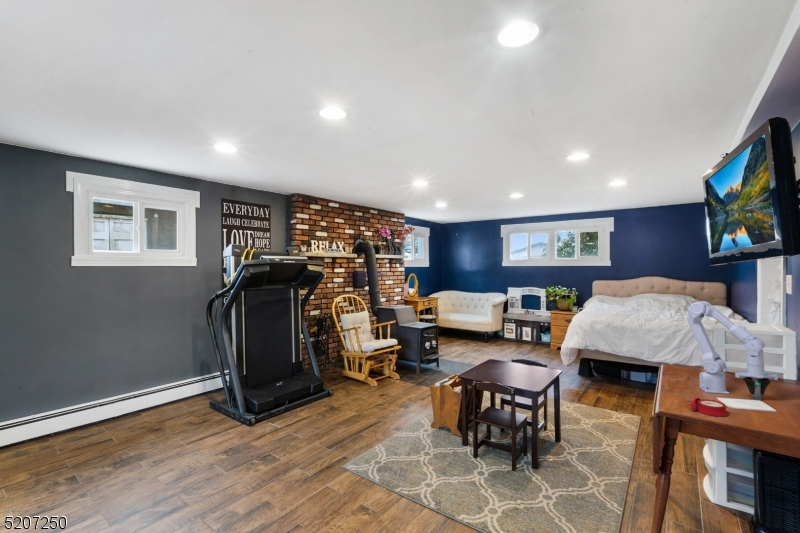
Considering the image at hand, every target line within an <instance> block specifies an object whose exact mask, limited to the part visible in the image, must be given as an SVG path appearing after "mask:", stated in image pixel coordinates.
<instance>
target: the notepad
mask: <svg viewBox="0 0 800 533" xmlns="http://www.w3.org/2000/svg"><path fill="white" fill-rule="evenodd" d="M716 399H717V401H719V402H722V403H724V404H725V405H726V406H729V407H727V408H728V409H737V410H750V411H751V410H752V411H761V412H763V411H764V412H773V413H774V412H775V413H777V410H776V409H774V408H773V407H772V406H770V405H768V404H767V403H765V402H764V401H762V400H761V401H759V400H753V399H744V398H743V399H742V398H731V397H730V398H728V397H716Z"/></svg>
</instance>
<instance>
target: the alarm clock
mask: <svg viewBox="0 0 800 533" xmlns="http://www.w3.org/2000/svg"><path fill="white" fill-rule="evenodd" d="M687 402H688V403H689V402H690V404H688V403H687ZM684 404H685V405H686V406H690V409H691V410H692V411H693V412H699V413H700V414H703V415H706V416H712V417H720V418H721V417H727V416H730V415H729V410H727V408H728V407H729V406H726V405H725V404H724V403H722V402H721V401H719V400H713V399H709V398H708V399H707V398H705V399H703V398H702V399H701V398H699V397H695V398H693V400H691V401H690V400H686V401H684Z"/></svg>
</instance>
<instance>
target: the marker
mask: <svg viewBox="0 0 800 533" xmlns="http://www.w3.org/2000/svg"><path fill="white" fill-rule="evenodd" d="M754 381H755V382H754V395H752V394H751V395H752V396H751V397H752V399H751V400H759V401H762V395H761V382H758V380H754Z"/></svg>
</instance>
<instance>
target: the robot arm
mask: <svg viewBox="0 0 800 533" xmlns="http://www.w3.org/2000/svg"><path fill="white" fill-rule="evenodd" d="M704 317H709V318H713V319H715V321H717V322H719V323H720V324H721V325H723V326H724V327H725V328H727V329H728V332H729V334H730V335H731V336H732V337H733V338H735V339H736V340H738V341H739V342H740V343H741V344H743V346H744V348H745V350H746V369H747V372H745V371H744V372H734V374H735V376H734V377H735V378H738V379H742V380H743V381H744V383H745V384H746V387H747V388H748V391H749V394H751V395H754V382H755V381H756V380H754V379H757V381H758V382H761V396H764V395H765V392H766V390H767V387H768V386H769V385H770V384H771V380H774V381H778V378H779V377H778V375H776V374H774V373H772V374H771V373H765V358H764V357H765V355H764V349H765V347H766V343H765V341H764V340H763V338H761V337H757V335H755V334H753V333H751V332H750V331H749V330H747V327H746V326H742V325H741V324H735V323H734V322H733V321H732V320H730V318H728V317H727V316H726V315H725V314H723V312H721V311H720V310H719V309H718V308H717V307H715V305H713V304H711V303H710V302H709V301H705V300H700V301H697V302H696V301H695V302H692V303H691V304H690V305H689V307H687V317H686V321H687V323H688V325H689V327H690V329H691V332H692V334H693V336H694V338H695V340H696V342H697V345H698V346H699V349H700V351H701V353H702V361H703V369H704V370H705V371H703V372H702V371H700V372H699V375H698V376H699V389H701V390H702V391H703V392H705V393H709V394H710V393H714V394H727V395H729V394H730V392H729V391H728V390H727V389H726V373H725V371H724V370H725V369H726V367H727V363H726V361H725V360H724V359H723V358H722V357H721V355H720V354H719V353H718V352H717V351H716V350H715V348H714V346H713V344H712V340H711V339H710V337H709V335H708V333H707V331H706V329H705V327H704V324H703V322H702V320H703V319H704Z"/></svg>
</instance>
